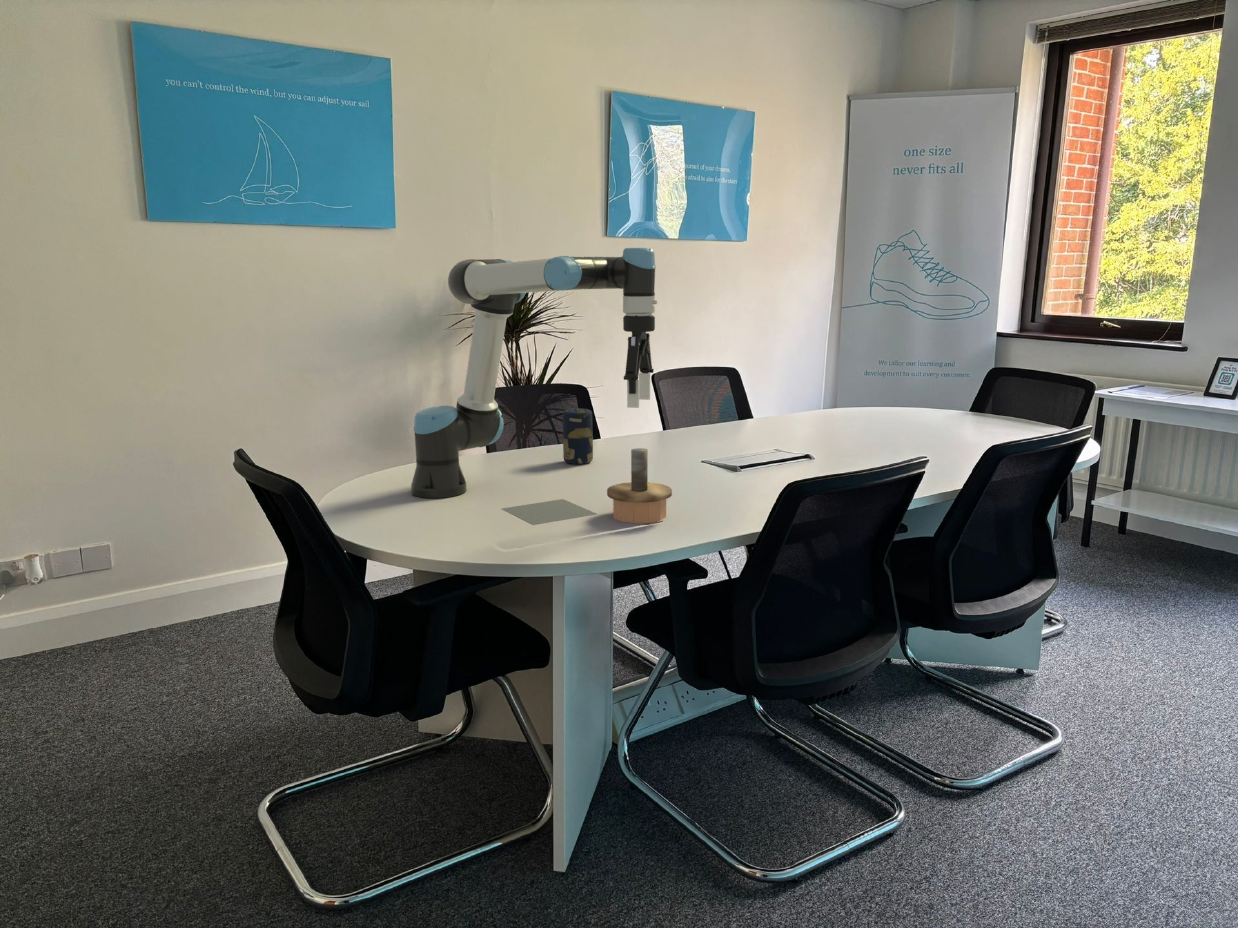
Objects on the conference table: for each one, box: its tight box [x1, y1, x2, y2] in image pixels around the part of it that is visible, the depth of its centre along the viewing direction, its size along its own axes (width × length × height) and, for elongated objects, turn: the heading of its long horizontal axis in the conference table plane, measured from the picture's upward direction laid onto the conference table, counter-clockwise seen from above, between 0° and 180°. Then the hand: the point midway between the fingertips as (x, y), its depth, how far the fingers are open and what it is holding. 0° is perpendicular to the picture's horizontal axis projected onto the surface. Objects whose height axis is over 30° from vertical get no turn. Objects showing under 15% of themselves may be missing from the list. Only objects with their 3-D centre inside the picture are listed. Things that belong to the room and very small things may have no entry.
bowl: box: [612, 499, 667, 526], centre depth 223 cm, size 13×13×6 cm
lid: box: [606, 447, 673, 503], centre depth 222 cm, size 16×16×11 cm
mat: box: [501, 498, 598, 526], centre depth 228 cm, size 18×18×1 cm
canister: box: [562, 406, 594, 465], centre depth 287 cm, size 10×10×18 cm
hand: (639, 403), depth 218 cm, fingers open, 13 cm apart
